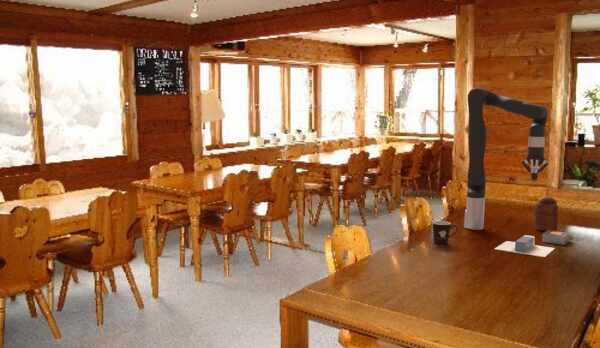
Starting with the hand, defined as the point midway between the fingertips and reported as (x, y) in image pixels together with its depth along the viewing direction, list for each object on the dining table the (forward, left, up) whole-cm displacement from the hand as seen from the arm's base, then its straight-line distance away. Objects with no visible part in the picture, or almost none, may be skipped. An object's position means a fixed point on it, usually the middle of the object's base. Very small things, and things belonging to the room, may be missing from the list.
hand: (534, 180), depth 273 cm
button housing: (+12, -2, -29) cm, 31 cm away
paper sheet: (+4, -26, -29) cm, 39 cm away
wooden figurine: (+2, +20, -29) cm, 35 cm away
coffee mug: (-30, -39, -29) cm, 57 cm away
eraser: (+4, -26, -29) cm, 39 cm away
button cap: (+12, -2, -28) cm, 30 cm away
